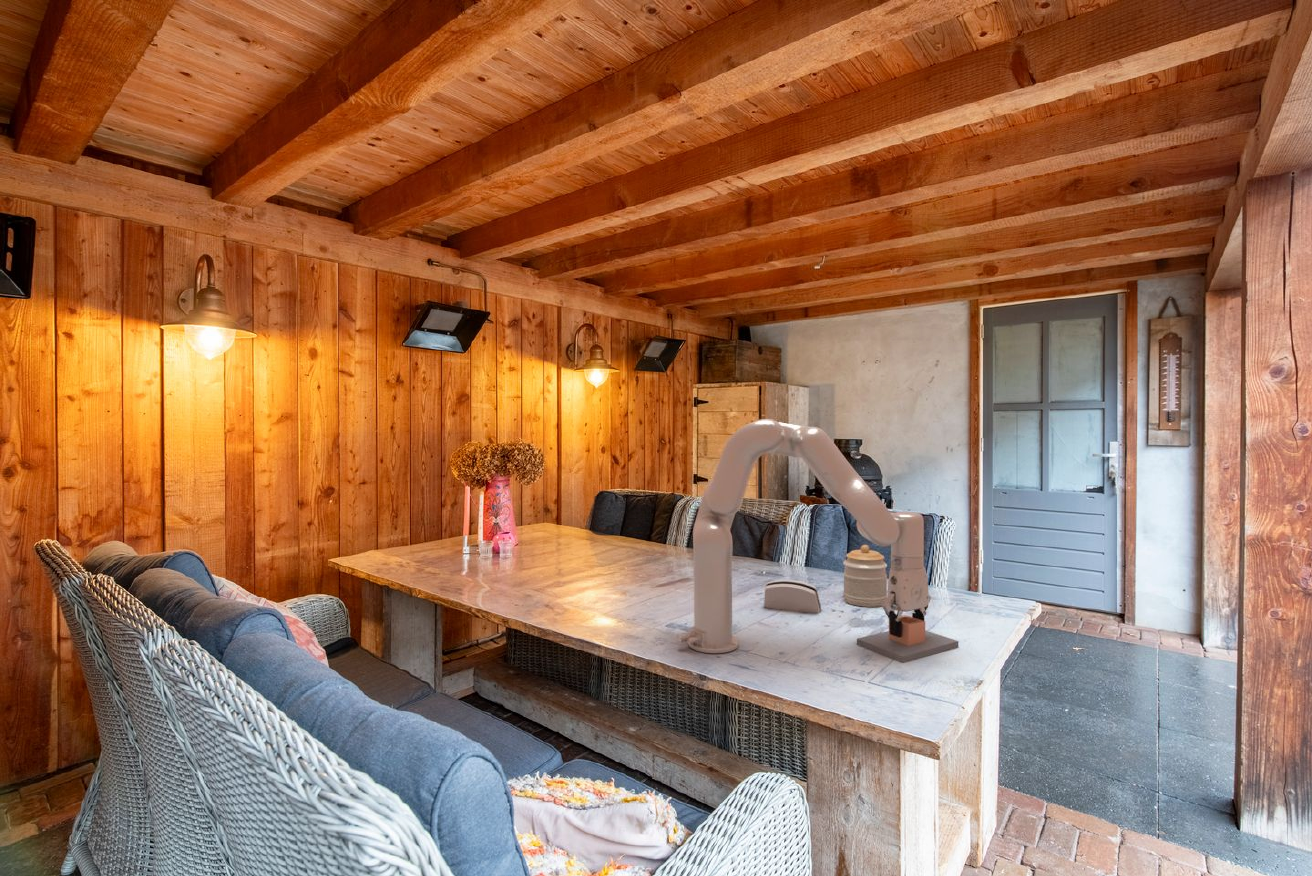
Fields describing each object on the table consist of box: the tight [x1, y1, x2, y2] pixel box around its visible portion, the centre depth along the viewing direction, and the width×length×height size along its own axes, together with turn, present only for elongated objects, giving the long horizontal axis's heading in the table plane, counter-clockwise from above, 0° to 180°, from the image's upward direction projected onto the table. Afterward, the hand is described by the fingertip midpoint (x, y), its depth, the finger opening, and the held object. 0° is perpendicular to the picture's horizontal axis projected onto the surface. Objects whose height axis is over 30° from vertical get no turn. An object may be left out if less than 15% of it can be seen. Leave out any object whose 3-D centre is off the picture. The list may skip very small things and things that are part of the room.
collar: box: [888, 614, 926, 646], centre depth 159 cm, size 6×6×5 cm
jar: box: [842, 544, 888, 608], centre depth 198 cm, size 13×13×18 cm
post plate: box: [856, 629, 959, 663], centre depth 159 cm, size 20×14×6 cm
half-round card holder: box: [763, 579, 822, 614], centre depth 191 cm, size 17×5×10 cm, turn 66°
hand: (907, 632), depth 159 cm, fingers open, 7 cm apart
